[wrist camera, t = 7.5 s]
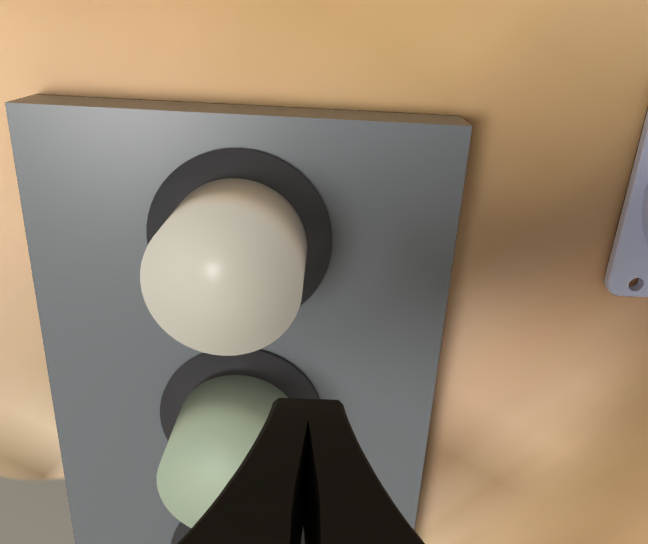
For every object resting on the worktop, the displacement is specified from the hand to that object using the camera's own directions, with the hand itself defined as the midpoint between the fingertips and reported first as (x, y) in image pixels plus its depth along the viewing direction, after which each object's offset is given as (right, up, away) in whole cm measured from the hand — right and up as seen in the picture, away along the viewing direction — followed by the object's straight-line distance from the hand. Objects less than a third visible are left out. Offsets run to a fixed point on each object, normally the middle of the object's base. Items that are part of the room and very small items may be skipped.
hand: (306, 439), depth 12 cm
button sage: (-3, -2, +9) cm, 10 cm away
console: (-3, -1, +12) cm, 12 cm away
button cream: (-2, +4, +7) cm, 8 cm away
